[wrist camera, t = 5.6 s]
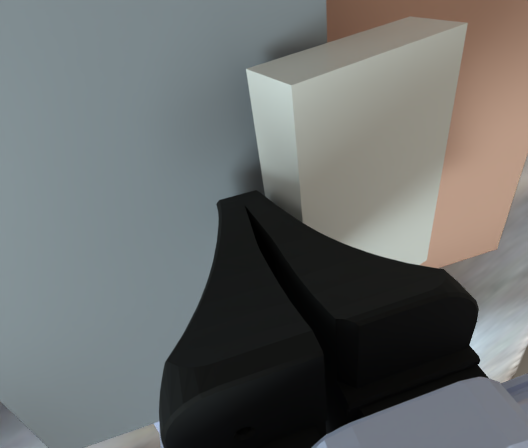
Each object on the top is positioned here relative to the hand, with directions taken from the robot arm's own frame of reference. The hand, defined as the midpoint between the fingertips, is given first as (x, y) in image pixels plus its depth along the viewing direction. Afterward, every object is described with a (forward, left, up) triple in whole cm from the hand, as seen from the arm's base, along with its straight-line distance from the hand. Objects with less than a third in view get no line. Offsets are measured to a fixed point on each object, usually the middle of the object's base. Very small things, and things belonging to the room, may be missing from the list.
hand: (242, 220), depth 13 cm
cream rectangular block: (0, -4, -1) cm, 4 cm away
